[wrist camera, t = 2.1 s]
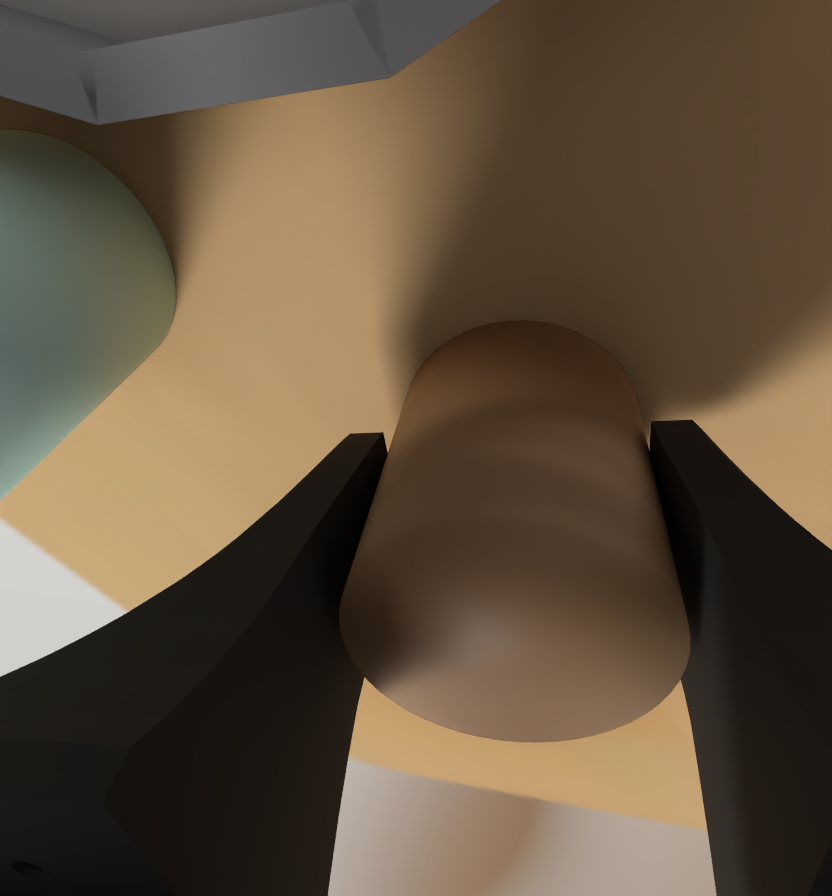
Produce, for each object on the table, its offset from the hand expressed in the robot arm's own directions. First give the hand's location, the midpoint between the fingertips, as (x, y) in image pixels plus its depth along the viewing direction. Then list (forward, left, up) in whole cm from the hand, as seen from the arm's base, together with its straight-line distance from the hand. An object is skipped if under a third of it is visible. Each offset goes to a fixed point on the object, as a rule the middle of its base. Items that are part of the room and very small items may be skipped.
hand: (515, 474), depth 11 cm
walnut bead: (0, 0, -1) cm, 1 cm away
